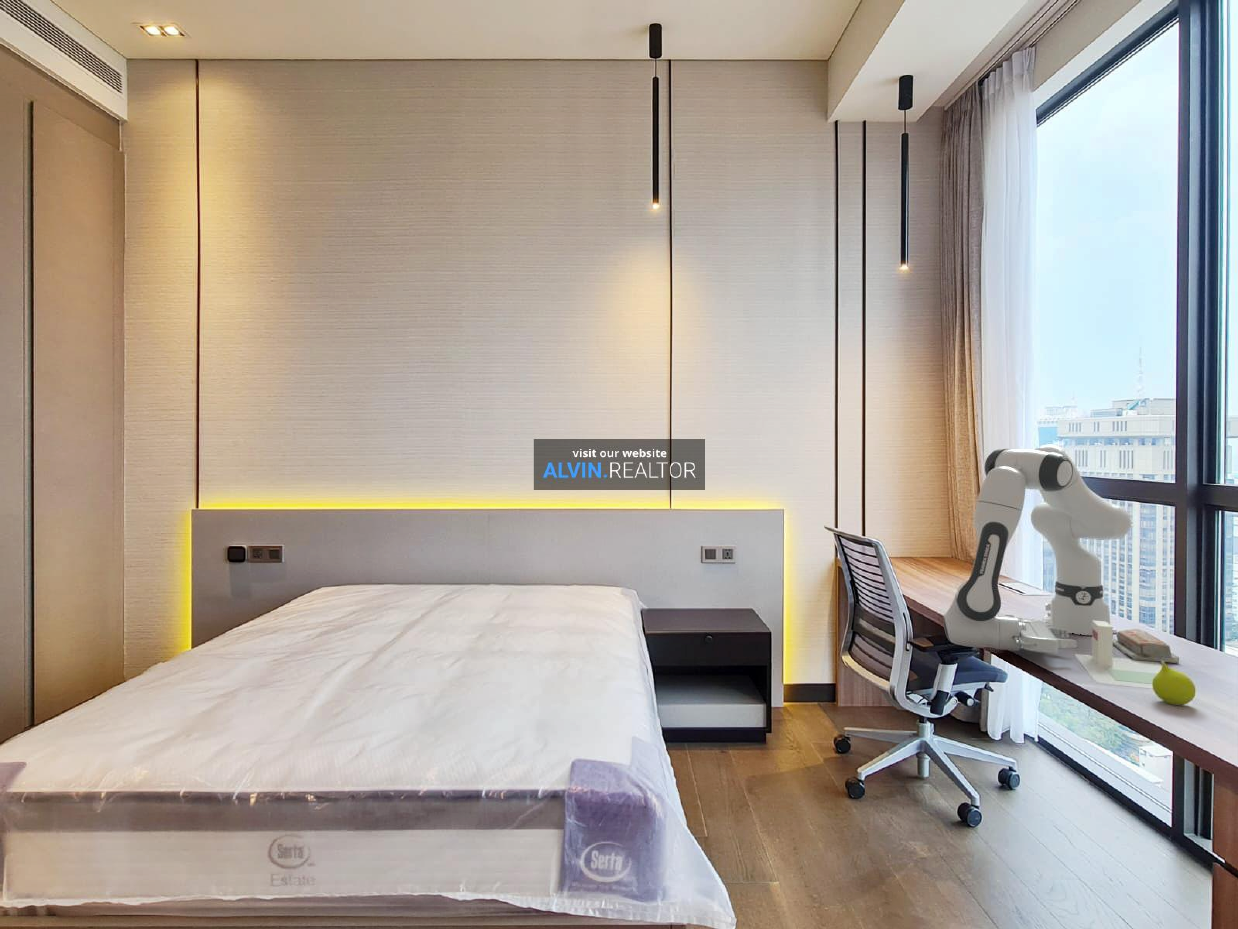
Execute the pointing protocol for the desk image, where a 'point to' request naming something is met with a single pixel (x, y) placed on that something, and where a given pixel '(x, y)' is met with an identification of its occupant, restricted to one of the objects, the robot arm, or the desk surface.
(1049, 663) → the desk surface
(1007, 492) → the robot arm
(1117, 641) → the packaged product
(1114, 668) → the mat
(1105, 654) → the card box
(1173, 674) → the yellow-green rounded piece
